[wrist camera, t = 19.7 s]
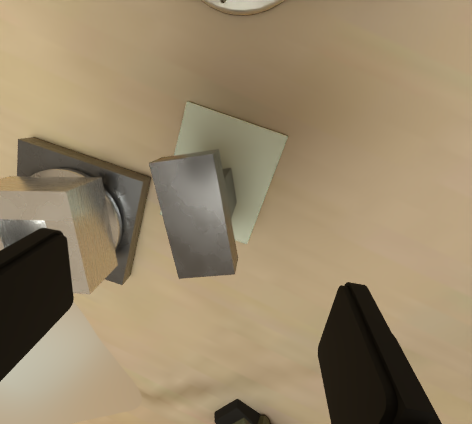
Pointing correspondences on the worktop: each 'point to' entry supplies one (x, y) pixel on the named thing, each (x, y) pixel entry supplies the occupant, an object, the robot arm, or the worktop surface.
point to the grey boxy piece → (65, 219)
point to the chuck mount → (114, 181)
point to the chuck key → (197, 212)
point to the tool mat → (235, 157)
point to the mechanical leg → (239, 414)
